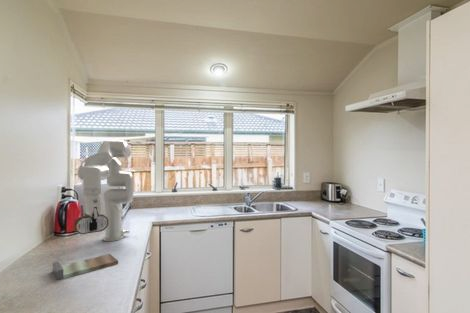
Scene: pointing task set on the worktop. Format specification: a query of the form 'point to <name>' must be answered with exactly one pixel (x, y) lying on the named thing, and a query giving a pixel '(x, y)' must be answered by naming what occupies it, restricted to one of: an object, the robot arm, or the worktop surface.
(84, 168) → the robot arm
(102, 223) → the tin
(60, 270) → the bracket
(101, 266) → the mounting board
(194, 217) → the worktop surface
